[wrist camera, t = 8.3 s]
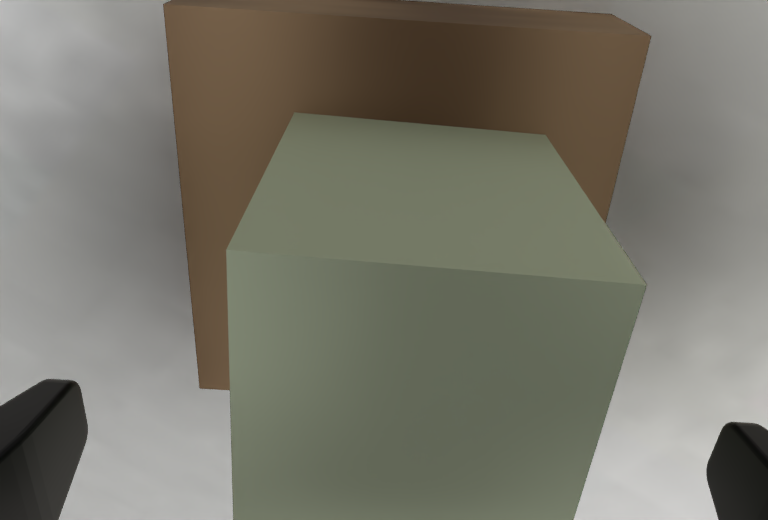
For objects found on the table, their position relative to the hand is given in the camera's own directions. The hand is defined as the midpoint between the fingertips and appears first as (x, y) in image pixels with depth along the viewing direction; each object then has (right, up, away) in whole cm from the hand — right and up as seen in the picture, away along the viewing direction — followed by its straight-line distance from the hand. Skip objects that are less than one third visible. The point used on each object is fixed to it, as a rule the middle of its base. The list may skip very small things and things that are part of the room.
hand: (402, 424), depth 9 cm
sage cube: (0, +3, +5) cm, 6 cm away
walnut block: (0, +4, +8) cm, 9 cm away
